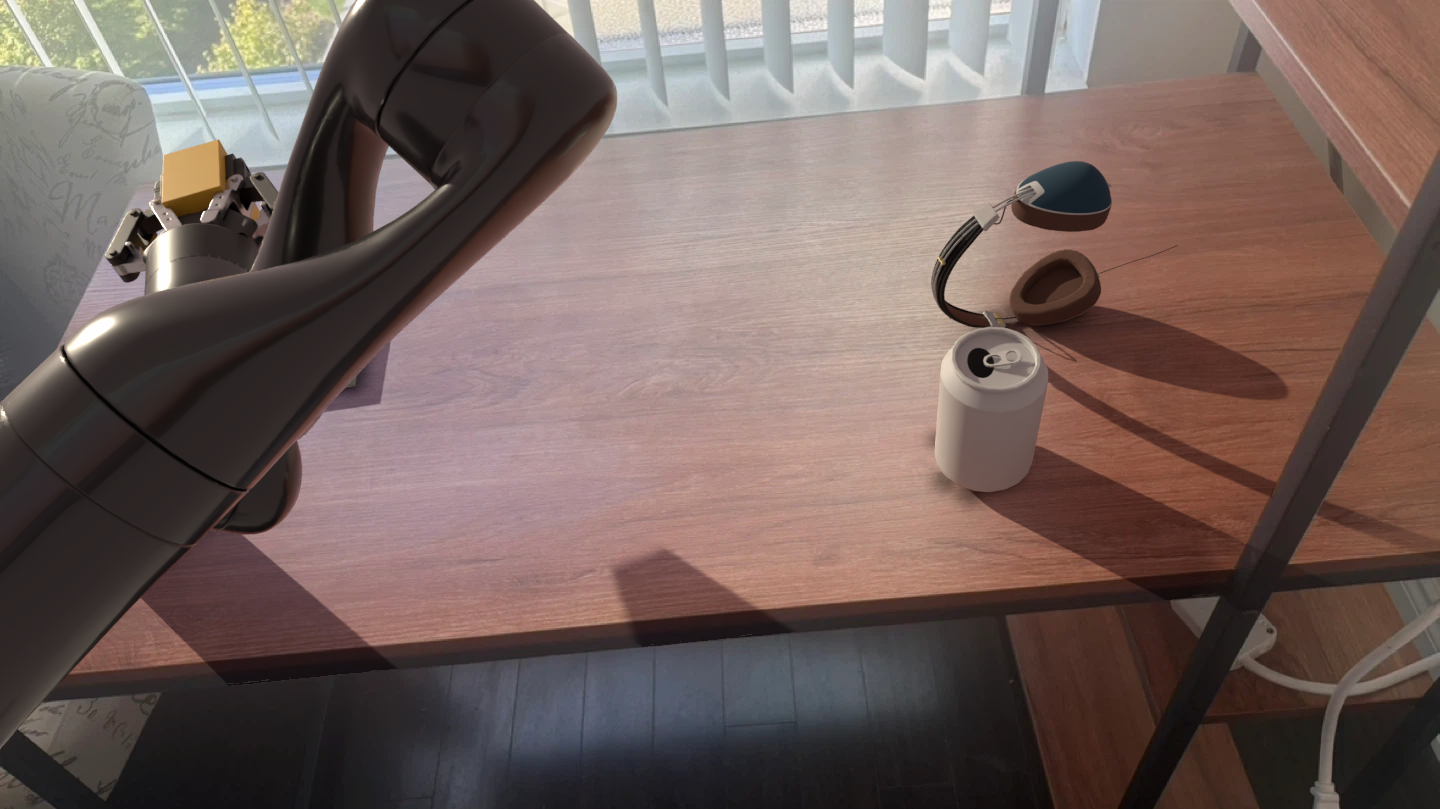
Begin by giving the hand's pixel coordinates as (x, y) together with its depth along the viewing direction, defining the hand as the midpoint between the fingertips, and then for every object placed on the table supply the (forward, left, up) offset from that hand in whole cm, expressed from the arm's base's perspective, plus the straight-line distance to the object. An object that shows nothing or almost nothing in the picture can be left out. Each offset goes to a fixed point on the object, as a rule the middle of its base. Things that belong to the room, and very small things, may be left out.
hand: (203, 173), depth 83 cm
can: (+59, -26, -20) cm, 67 cm away
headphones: (+69, -11, -20) cm, 73 cm away
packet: (+1, -3, -8) cm, 8 cm away
